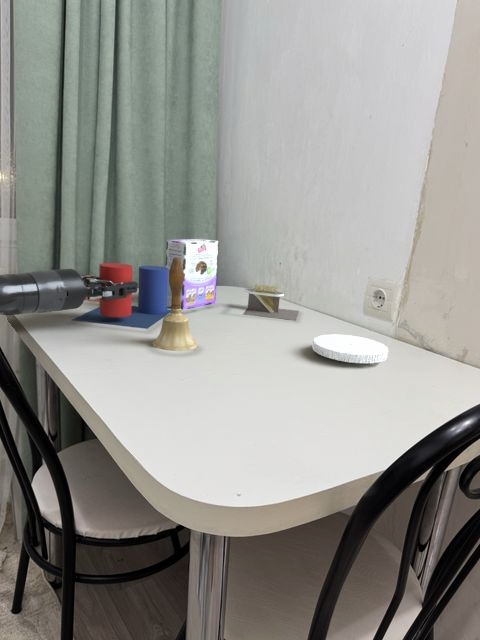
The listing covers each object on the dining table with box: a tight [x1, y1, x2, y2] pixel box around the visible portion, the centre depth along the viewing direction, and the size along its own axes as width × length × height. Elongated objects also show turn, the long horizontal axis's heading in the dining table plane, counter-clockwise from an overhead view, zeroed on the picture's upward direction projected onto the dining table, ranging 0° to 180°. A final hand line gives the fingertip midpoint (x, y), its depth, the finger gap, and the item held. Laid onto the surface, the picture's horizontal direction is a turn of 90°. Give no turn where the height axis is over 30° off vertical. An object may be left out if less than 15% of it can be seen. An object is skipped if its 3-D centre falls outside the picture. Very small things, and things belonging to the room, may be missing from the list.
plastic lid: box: [311, 333, 389, 364], centre depth 95 cm, size 14×14×2 cm
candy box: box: [165, 238, 219, 311], centre depth 125 cm, size 14×6×16 cm, turn 149°
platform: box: [242, 283, 300, 321], centre depth 128 cm, size 12×18×7 cm, turn 82°
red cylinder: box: [98, 262, 133, 317], centre depth 103 cm, size 6×6×10 cm
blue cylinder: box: [137, 265, 168, 314], centre depth 115 cm, size 6×6×10 cm
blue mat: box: [71, 305, 171, 330], centre depth 111 cm, size 16×19×1 cm
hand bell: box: [151, 258, 199, 352], centre depth 90 cm, size 8×8×16 cm
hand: (124, 284), depth 105 cm, fingers closed on red cylinder, 6 cm apart
